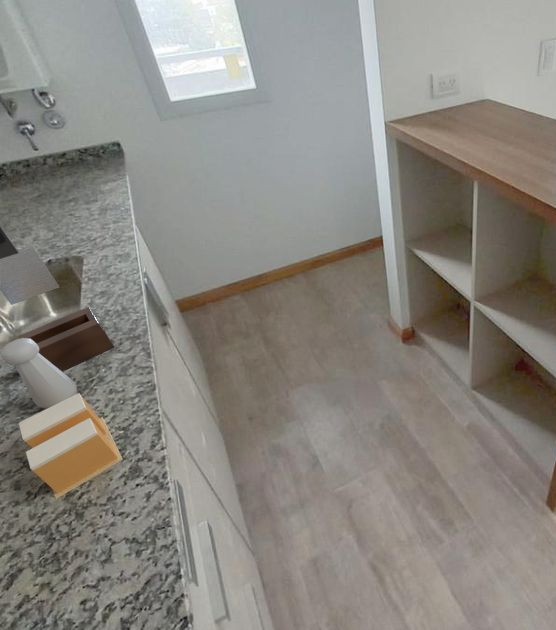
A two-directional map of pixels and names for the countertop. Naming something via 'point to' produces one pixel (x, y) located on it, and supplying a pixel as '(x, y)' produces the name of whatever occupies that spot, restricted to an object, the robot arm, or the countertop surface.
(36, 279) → the knife
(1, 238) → the robot arm
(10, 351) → the salt shaker
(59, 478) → the cake slice
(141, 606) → the countertop surface
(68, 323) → the knife block
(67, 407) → the cake
